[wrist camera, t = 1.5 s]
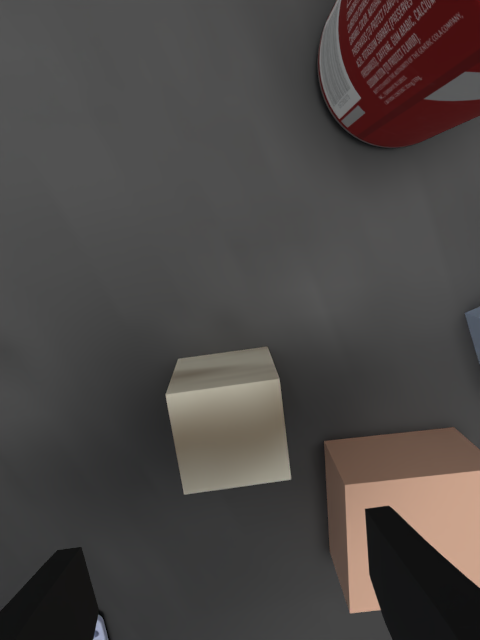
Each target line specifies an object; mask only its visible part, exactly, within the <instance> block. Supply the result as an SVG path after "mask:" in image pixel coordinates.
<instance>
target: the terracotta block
mask: <svg viewBox="0 0 480 640" xmlns="http://www.w3.org/2000/svg"><path fill="white" fill-rule="evenodd" d="M324 449H325V468H326V488H327V507H328V527H329V547H330V554H331V557H332V560H333V563H334V566H335V569H336V572H337V575H338V578H339V581H340V584H341V587H342V591H343V594H344V597H345V600H346V603H347V606H348V609H349V612H350V613H357V612H366V611H375V610H381V609H380V606H379V603H378V600H377V597H376V594H375V591H374V588H373V585H372V582H371V579H370V576H369V563H368V548H367V534H366V519H365V509H367V508H375V507H382V506H390V507H391V508H393V509H394V510H395V511H396V512H397V513H398V514H399V515H400V516H401V517H402V518H403V519H404V520H405V521H406V522H407V523H408V524H409V525H410V526H411V527H412V528H413V529H414V530H416V531H417V532H418V533H419V534H420V535H421V536H422V537H423V538H424V539H425V540H426V541H427V542H428V543H429V544H430V545H431V546H433V547H434V548H435V549H436V550H437V551H438V552H439V553H440V554H441V555H442V556H443V557H445V558H446V559H447V560H448V561H449V562H450V563H451V564H453V565H454V566H455V567H456V568H457V569H458V570H459V571H461V572H462V573H463V574H464V575H465V576H466V577H467V578H469V579H470V580H471V581H472V582H473V583H475V584H476V585H477V586H478V587H479V588H480V449H479V448H477V447H476V446H475V445H474V444H473V443H472V442H470V441H469V440H468V439H467V438H466V437H465V436H463V435H462V434H461V433H460V432H459V431H458V430H456V429H455V428H454V427H451V428H442V429H432V430H423V431H413V432H404V433H395V434H385V435H376V436H366V437H357V438H348V439H338V440H329V441H324Z"/></svg>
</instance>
